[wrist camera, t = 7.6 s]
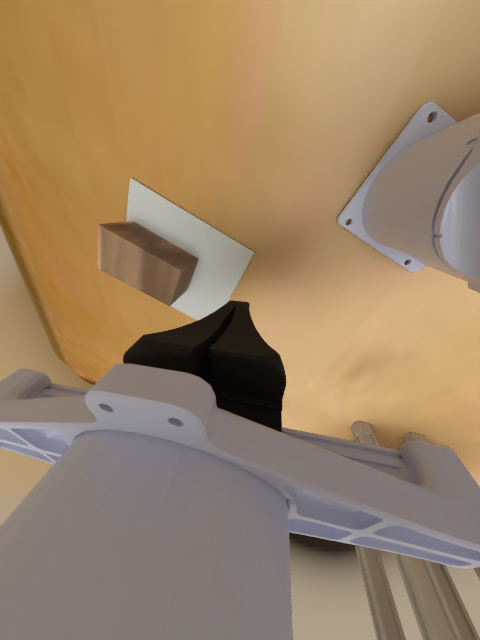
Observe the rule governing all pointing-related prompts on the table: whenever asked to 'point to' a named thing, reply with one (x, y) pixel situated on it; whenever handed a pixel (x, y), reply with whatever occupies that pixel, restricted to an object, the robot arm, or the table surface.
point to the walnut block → (145, 260)
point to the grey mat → (192, 249)
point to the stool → (412, 584)
